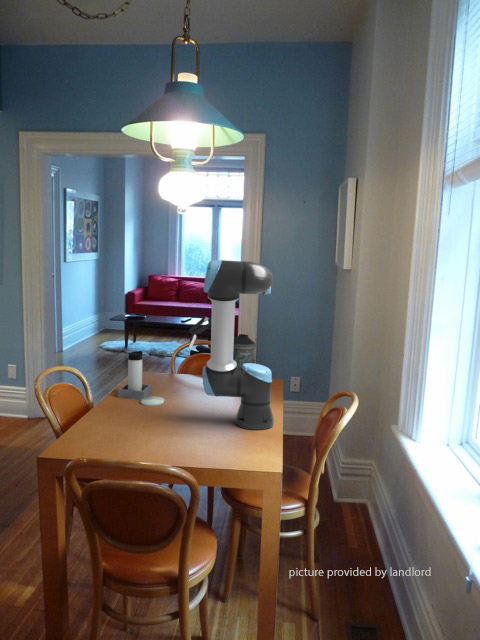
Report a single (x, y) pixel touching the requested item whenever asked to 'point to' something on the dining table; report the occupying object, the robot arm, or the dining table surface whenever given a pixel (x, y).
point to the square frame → (134, 392)
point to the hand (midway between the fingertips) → (204, 354)
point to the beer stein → (243, 350)
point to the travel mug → (135, 371)
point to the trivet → (152, 401)
